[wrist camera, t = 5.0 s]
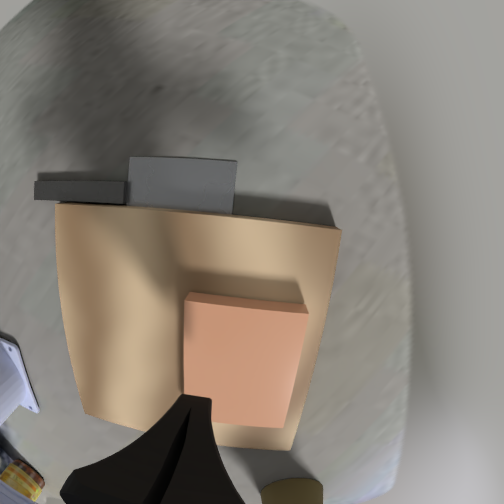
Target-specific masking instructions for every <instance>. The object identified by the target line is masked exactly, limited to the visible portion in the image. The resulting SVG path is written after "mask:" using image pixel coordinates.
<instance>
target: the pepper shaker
mask: <svg viewBox="0 0 504 504" xmlns="http://www.w3.org/2000/svg"><path fill="white" fill-rule="evenodd" d="M261 499H262V504H323V485H322V484H321V483H320V482H318V481H315V480H313V479H306V478H291V479H284V480H280V481H277V482H273V483H271V484H269V485H267V486H266V487H265V488H263V489H262V491H261Z"/></svg>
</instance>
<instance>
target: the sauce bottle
mask: <svg viewBox="0 0 504 504" xmlns="http://www.w3.org/2000/svg"><path fill="white" fill-rule="evenodd" d="M0 480H2V481H3V482H4V483H6V484H7V485H9V486H10V487H12V488H13V489H15V490H16V491H18V492H19V493H21V494H23V495H24V496H26V497H27V498H29V499H31V500H32V501H34V502H35V501H36V499H37V498H38V496H39V495H40V493H41V492H42V488H43V487H44V486H45V482H44V480H43V479H42V478H41V477H40V475H39V474H38V473H37V472H36V471H34V470H33V469H32V468H31V467H30V466H28V465H27V464H25V463H24V462H22V461H21V460H19V459H17V460H14V461H13V463H10V464H9V466H8V467H7V468H6V469H5V471H4V472H3V473H2V474H1V475H0Z"/></svg>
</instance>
